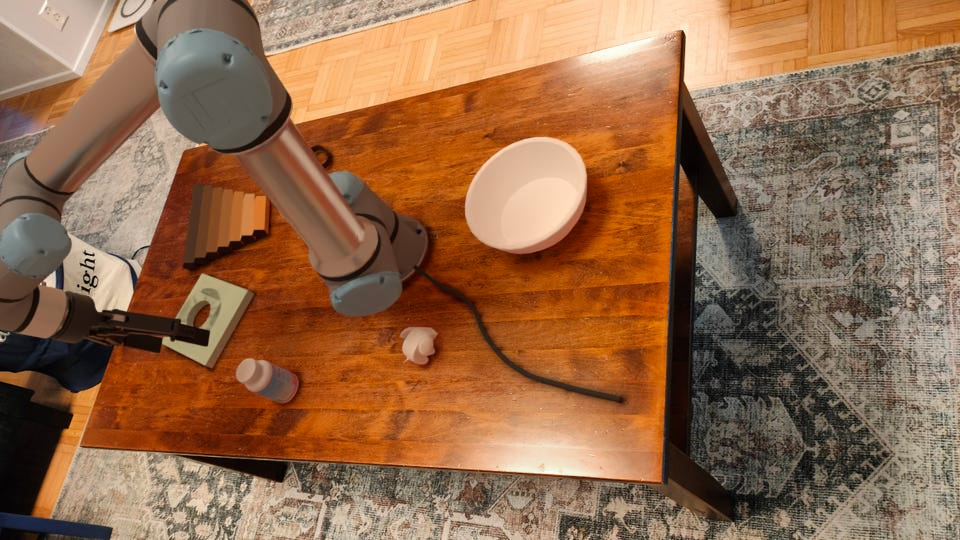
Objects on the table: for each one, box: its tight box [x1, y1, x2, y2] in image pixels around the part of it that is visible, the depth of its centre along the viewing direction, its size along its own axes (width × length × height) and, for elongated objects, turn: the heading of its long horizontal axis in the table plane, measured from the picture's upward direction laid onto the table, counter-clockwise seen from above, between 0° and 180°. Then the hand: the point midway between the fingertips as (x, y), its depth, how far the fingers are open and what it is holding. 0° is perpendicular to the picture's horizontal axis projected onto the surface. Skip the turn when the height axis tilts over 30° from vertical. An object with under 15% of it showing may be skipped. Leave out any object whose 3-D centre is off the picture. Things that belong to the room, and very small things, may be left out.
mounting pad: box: [162, 273, 255, 369], centre depth 146 cm, size 18×18×2 cm
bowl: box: [464, 136, 588, 255], centre depth 115 cm, size 22×22×8 cm
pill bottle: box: [235, 357, 300, 404], centre depth 123 cm, size 6×6×11 cm
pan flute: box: [182, 182, 271, 271], centre depth 161 cm, size 25×3×25 cm
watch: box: [310, 144, 332, 170], centre depth 153 cm, size 8×5×4 cm, turn 28°
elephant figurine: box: [399, 326, 439, 365], centre depth 114 cm, size 7×8×6 cm
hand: (183, 342), depth 115 cm, fingers open, 13 cm apart
